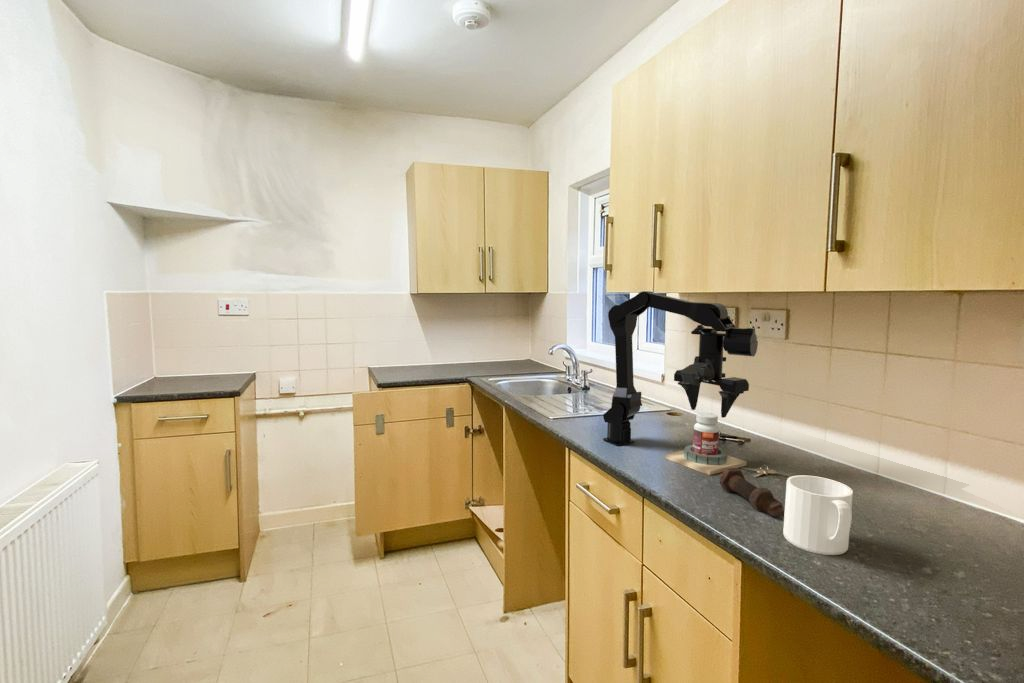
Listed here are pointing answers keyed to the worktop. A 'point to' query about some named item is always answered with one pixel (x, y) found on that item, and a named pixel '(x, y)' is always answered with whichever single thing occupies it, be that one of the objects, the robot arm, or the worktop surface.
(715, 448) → the pill bottle
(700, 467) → the socket
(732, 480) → the bolt
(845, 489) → the mug
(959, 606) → the worktop surface
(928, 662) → the worktop surface
